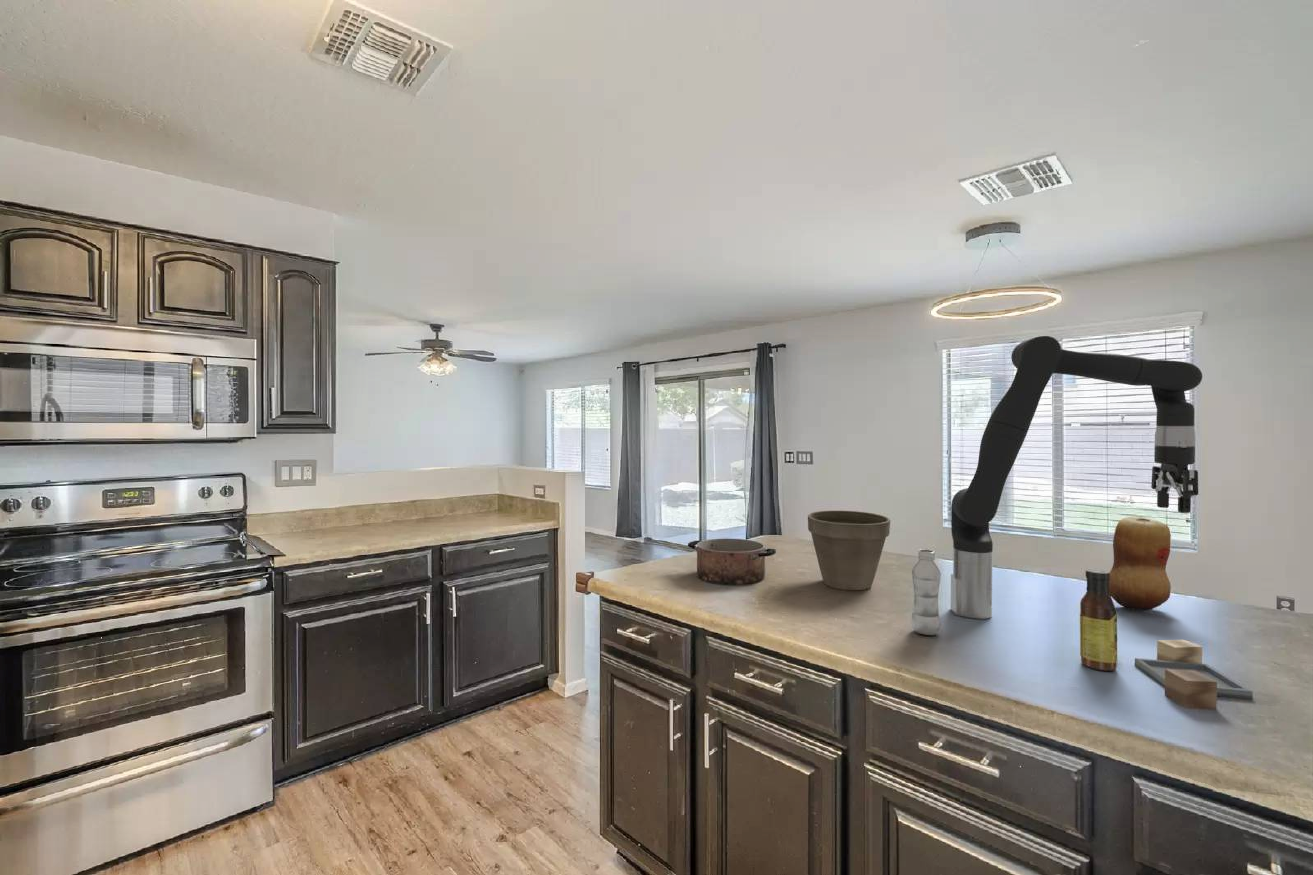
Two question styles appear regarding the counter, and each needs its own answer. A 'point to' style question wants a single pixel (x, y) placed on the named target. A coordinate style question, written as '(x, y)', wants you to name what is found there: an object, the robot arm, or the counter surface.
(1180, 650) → the oak block
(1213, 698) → the walnut block
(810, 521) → the plant pot
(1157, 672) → the tray
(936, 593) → the plastic bottle
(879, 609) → the counter surface
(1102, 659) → the sauce bottle
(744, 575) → the cooking pot
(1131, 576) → the butternut squash
